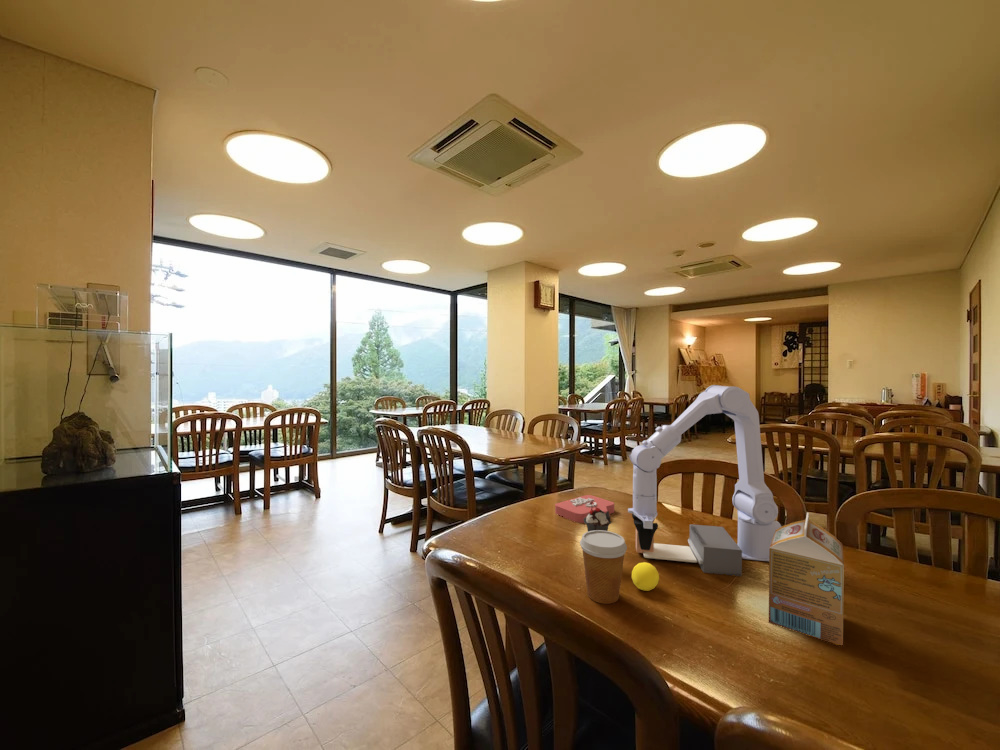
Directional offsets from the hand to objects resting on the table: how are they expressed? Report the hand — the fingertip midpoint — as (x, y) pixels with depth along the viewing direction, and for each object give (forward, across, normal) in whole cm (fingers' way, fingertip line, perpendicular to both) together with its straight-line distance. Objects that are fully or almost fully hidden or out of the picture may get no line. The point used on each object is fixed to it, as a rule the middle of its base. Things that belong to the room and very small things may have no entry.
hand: (644, 546), depth 103 cm
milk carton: (+2, +22, +26) cm, 34 cm away
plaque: (+3, -26, -14) cm, 30 cm away
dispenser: (+2, 0, +16) cm, 16 cm away
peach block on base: (+1, 0, +5) cm, 5 cm away
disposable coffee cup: (+2, +22, -11) cm, 25 cm away
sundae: (+2, +7, -12) cm, 14 cm away
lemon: (+2, +17, -2) cm, 17 cm away
